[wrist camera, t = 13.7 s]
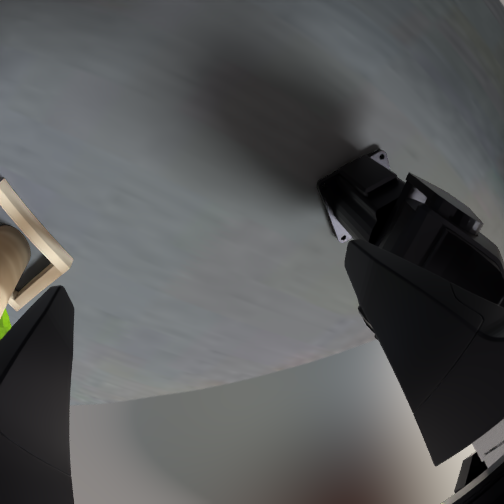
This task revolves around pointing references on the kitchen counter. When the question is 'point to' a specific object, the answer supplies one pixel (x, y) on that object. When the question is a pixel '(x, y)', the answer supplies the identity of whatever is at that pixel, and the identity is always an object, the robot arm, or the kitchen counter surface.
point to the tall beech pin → (11, 261)
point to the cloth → (4, 324)
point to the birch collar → (41, 239)
